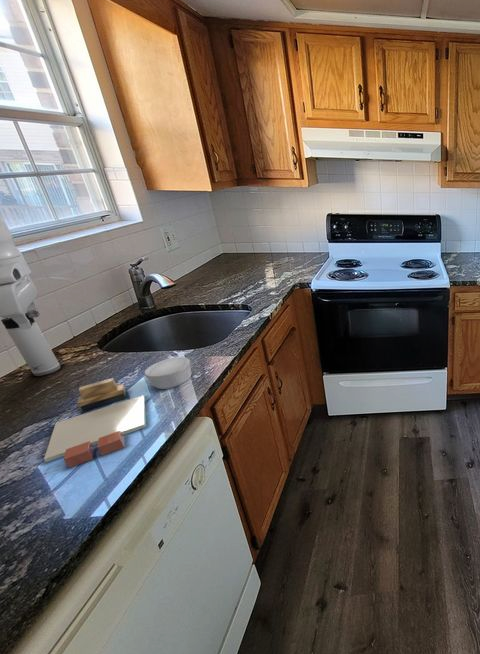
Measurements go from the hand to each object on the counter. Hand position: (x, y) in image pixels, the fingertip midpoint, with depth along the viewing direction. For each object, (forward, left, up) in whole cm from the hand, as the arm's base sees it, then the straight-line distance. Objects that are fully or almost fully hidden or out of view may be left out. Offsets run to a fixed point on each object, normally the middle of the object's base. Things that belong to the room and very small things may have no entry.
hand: (31, 322), depth 93 cm
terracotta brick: (+10, -33, -24) cm, 42 cm away
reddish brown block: (+4, -33, -24) cm, 41 cm away
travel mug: (-9, +27, -24) cm, 37 cm away
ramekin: (+23, -8, -24) cm, 34 cm away
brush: (+7, -8, -24) cm, 26 cm away
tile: (+7, -21, -24) cm, 33 cm away
